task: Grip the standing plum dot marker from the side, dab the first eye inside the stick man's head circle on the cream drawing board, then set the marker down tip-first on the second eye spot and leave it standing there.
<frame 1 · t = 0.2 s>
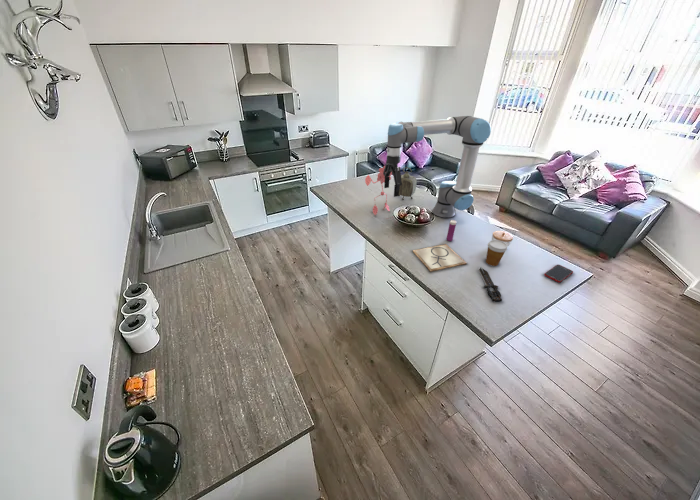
hand: (391, 191, 168), 28 cm above the countertop, tool pointing down, fingers open, 13 cm apart
knife: (487, 284, 142), on the countertop
drawing board: (438, 257, 160), on the countertop
dot marker: (449, 240, 175), on the countertop
disposable coffee cup: (491, 263, 156), on the countertop
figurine: (383, 214, 204), on the countertop
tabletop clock: (403, 199, 227), on the countertop
cell phone: (558, 274, 148), on the countertop
trinket box: (499, 246, 170), on the countertop
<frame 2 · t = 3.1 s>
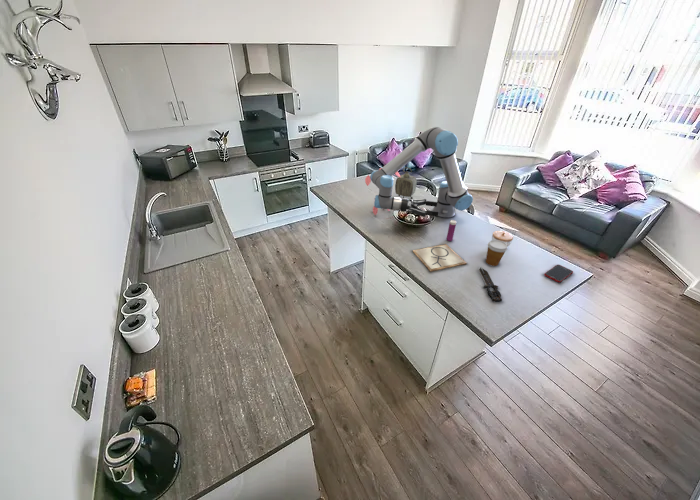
hand: (437, 209, 166), 20 cm above the countertop, tool horizontal, fingers open, 13 cm apart
nothing on the countertop moved.
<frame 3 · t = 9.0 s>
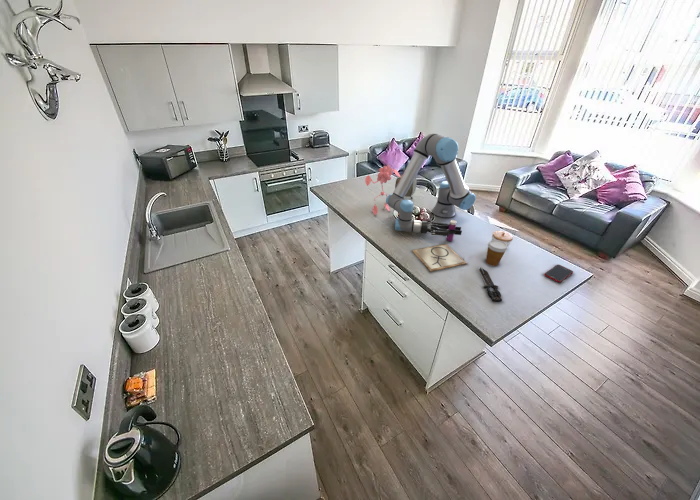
hand: (460, 231, 170), 7 cm above the countertop, tool horizontal, fingers closed on dot marker, 4 cm apart
dot marker: (449, 240, 175), on the countertop, touching gripper
everything else where it was.
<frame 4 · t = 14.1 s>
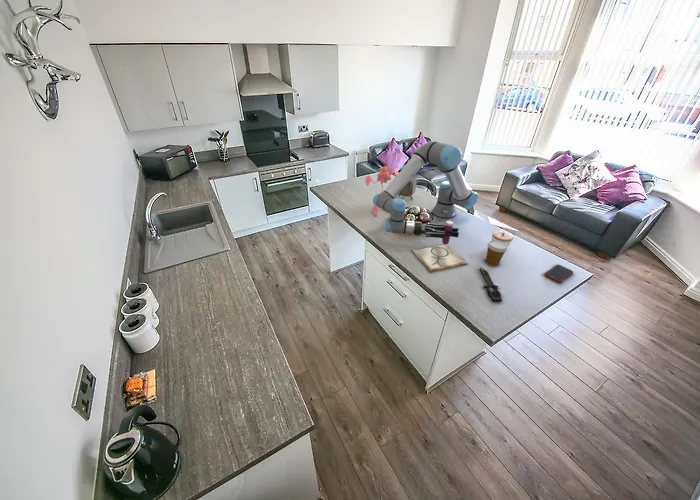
hand: (458, 232, 155), 14 cm above the countertop, tool horizontal, fingers closed on dot marker, 4 cm apart
dot marker: (445, 242, 160), point 7 cm above the countertop, touching gripper
everything else where it was.
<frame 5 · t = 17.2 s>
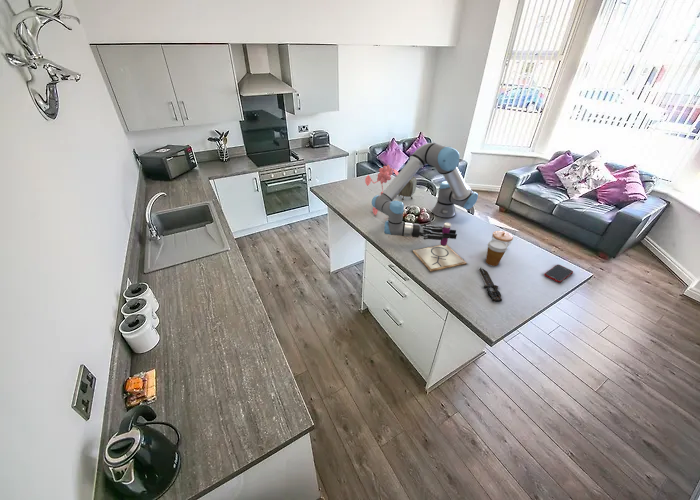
hand: (455, 234, 156), 13 cm above the countertop, tool horizontal, fingers closed on dot marker, 3 cm apart
dot marker: (443, 244, 161), point 6 cm above the countertop, touching gripper
everything else where it was.
when the fingers open (8 cm above the countertop, at t = 19.2 s): dot marker stays where it is, resting on drawing board.
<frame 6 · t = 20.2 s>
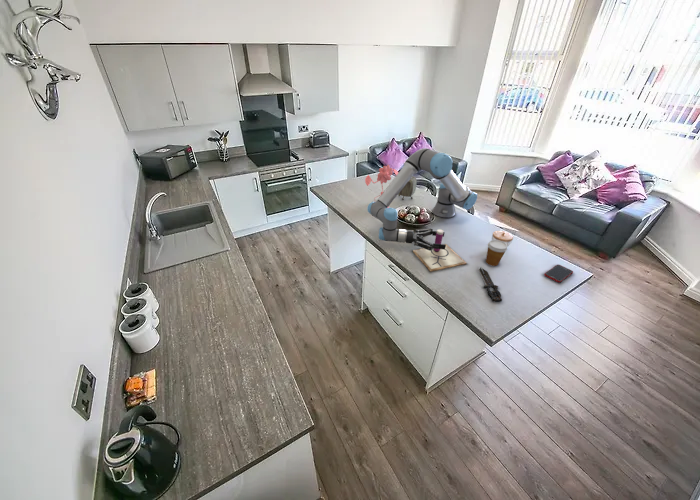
hand: (444, 240, 160), 8 cm above the countertop, tool horizontal, fingers open, 13 cm apart
dot marker: (436, 250, 165), point 1 cm above the countertop, touching drawing board
everything else where it was.
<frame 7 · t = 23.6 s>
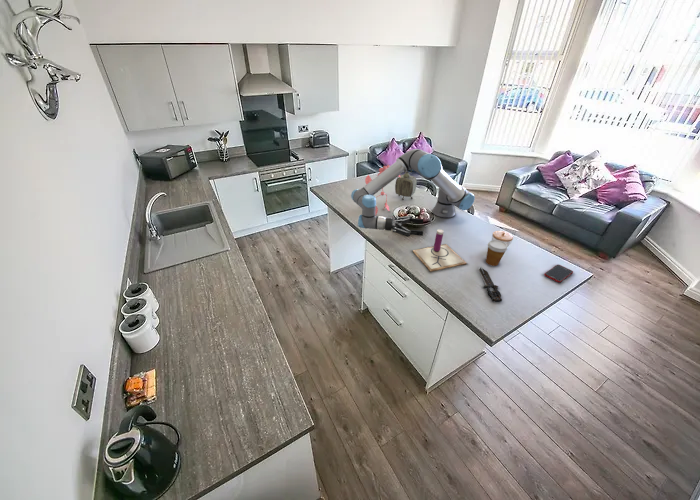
hand: (423, 227, 161), 14 cm above the countertop, tool horizontal, fingers open, 13 cm apart
nothing on the countertop moved.
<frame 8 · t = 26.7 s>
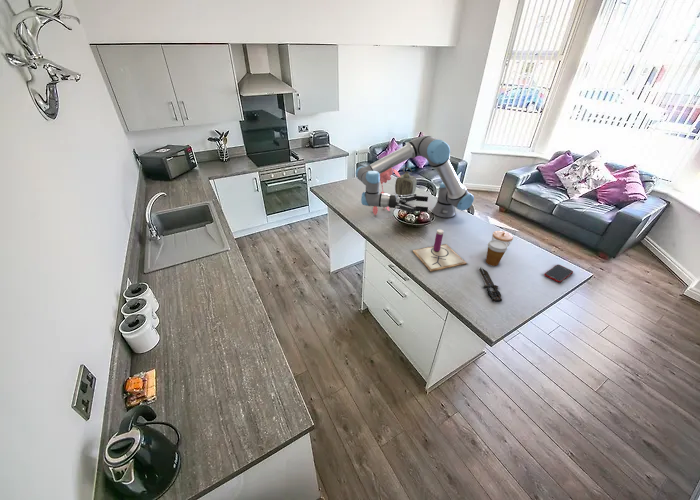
hand: (427, 204, 158), 26 cm above the countertop, tool horizontal, fingers open, 13 cm apart
nothing on the countertop moved.
at the end: dot marker 0.1 cm from the target spot on the drawing board, point 1.0 cm above the drawing board's base; dot marker tilted 0°; the gripper is holding nothing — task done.
